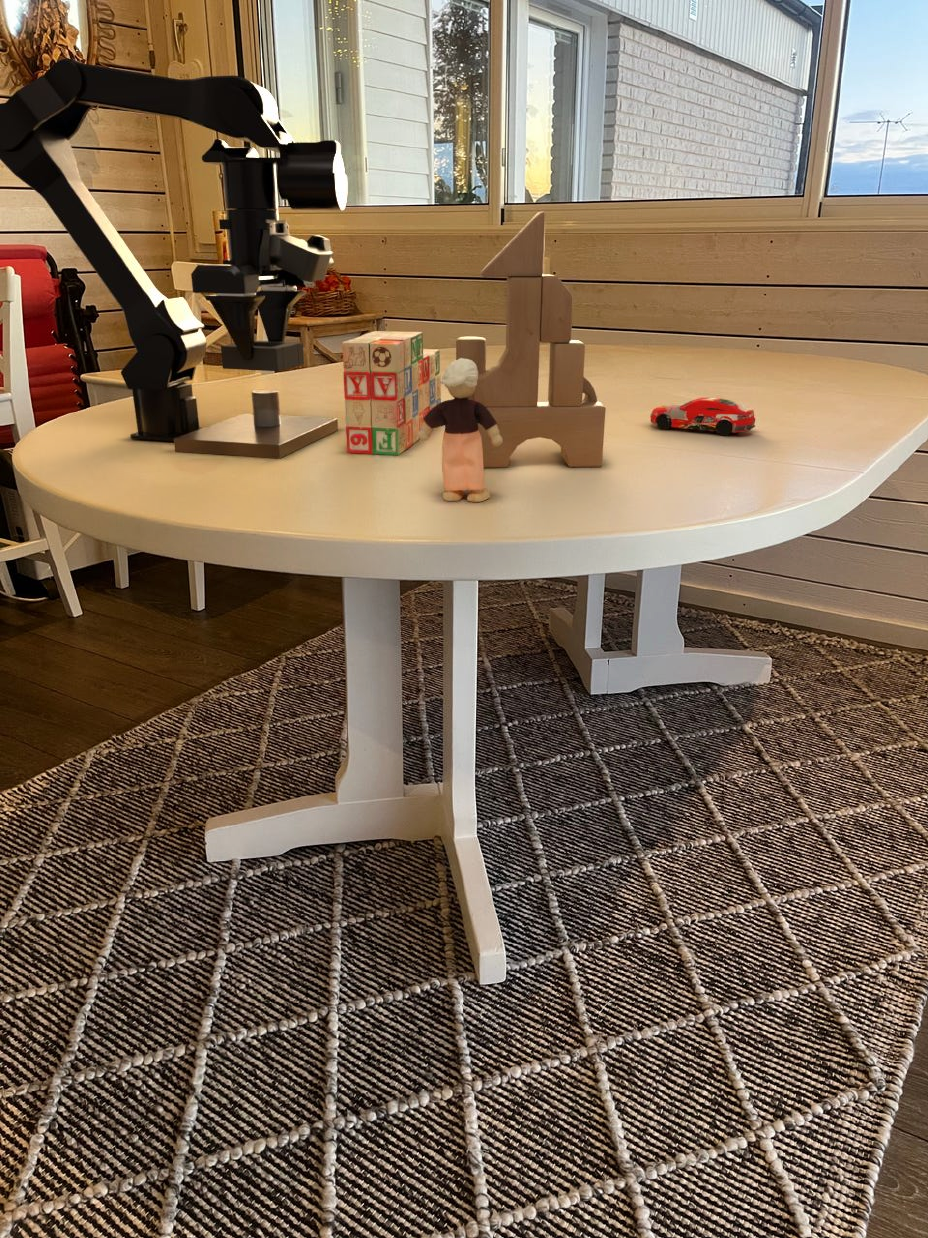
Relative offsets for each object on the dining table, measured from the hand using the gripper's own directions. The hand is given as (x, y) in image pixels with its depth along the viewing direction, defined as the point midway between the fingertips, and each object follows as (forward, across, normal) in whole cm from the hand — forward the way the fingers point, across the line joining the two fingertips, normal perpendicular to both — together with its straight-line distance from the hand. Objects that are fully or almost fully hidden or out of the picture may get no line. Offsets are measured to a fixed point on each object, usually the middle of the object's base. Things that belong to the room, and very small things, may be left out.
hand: (262, 355), depth 107 cm
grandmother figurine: (+10, -20, -30) cm, 37 cm away
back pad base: (+10, -1, +1) cm, 10 cm away
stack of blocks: (+10, +6, -14) cm, 18 cm away
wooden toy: (+10, -2, -32) cm, 34 cm away
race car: (+10, +22, -50) cm, 55 cm away
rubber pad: (+1, 0, 0) cm, 1 cm away
